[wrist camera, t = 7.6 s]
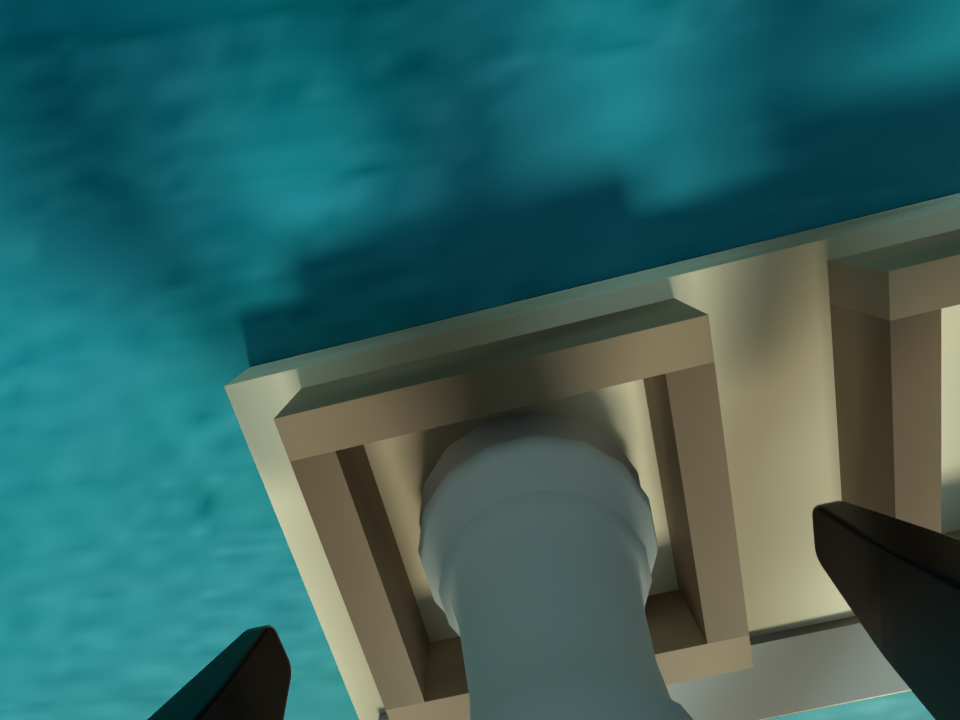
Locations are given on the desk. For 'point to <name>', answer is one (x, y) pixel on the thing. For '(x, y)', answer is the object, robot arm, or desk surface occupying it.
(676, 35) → the desk surface
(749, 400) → the board
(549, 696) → the rook chess piece
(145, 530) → the desk surface
